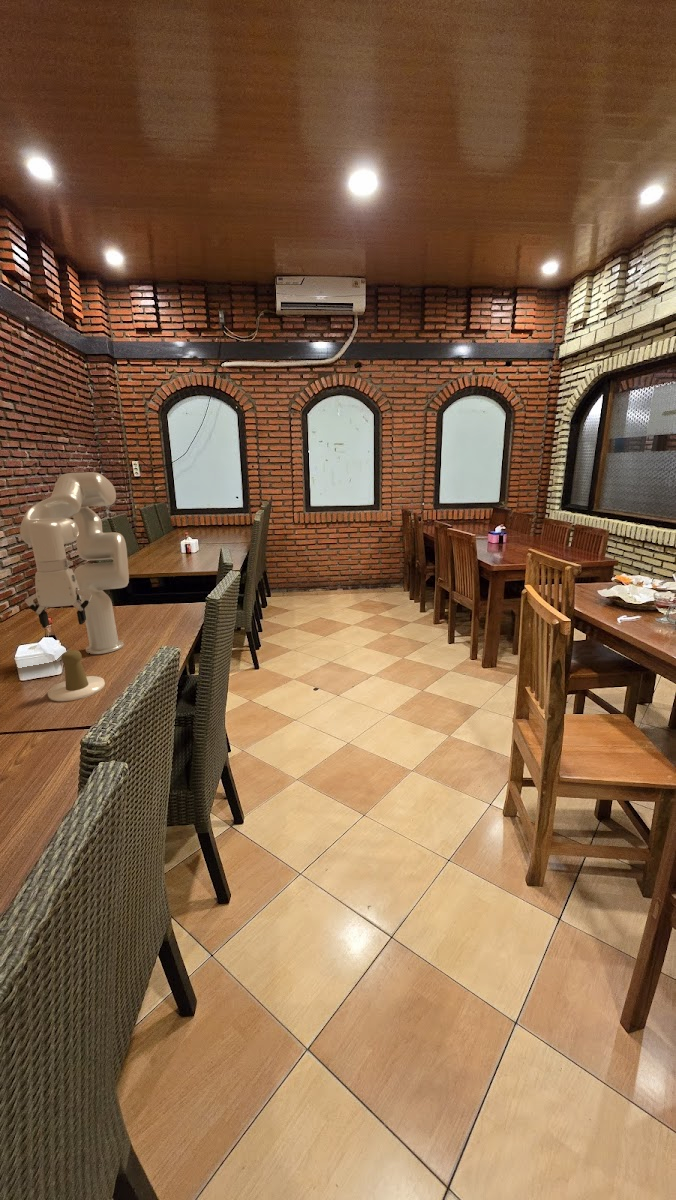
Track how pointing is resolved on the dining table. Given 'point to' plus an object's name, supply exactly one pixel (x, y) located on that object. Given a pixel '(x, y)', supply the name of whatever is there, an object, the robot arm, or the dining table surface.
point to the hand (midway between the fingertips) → (64, 624)
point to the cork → (74, 671)
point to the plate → (62, 694)
